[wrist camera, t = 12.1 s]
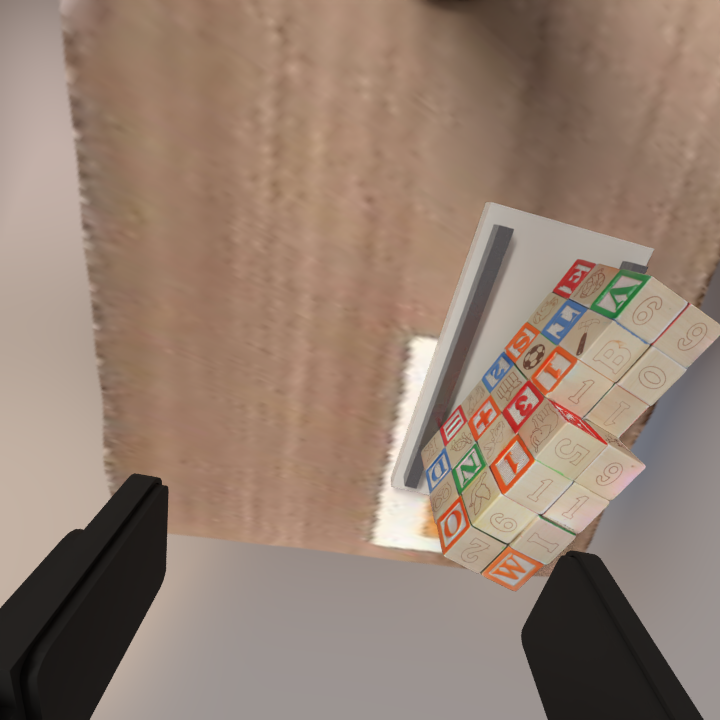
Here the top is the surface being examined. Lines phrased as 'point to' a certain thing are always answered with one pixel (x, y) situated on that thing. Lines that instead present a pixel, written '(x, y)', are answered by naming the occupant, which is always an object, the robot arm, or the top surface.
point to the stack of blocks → (557, 419)
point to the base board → (498, 311)
